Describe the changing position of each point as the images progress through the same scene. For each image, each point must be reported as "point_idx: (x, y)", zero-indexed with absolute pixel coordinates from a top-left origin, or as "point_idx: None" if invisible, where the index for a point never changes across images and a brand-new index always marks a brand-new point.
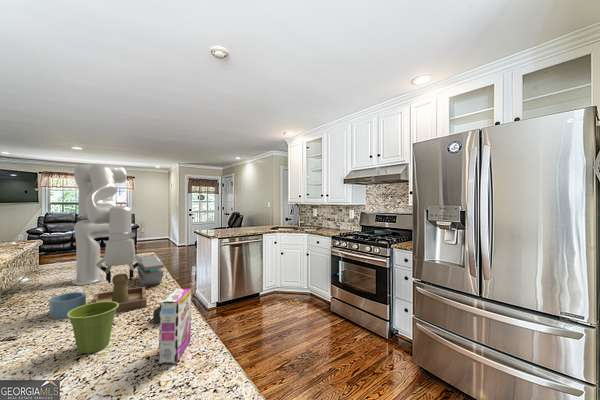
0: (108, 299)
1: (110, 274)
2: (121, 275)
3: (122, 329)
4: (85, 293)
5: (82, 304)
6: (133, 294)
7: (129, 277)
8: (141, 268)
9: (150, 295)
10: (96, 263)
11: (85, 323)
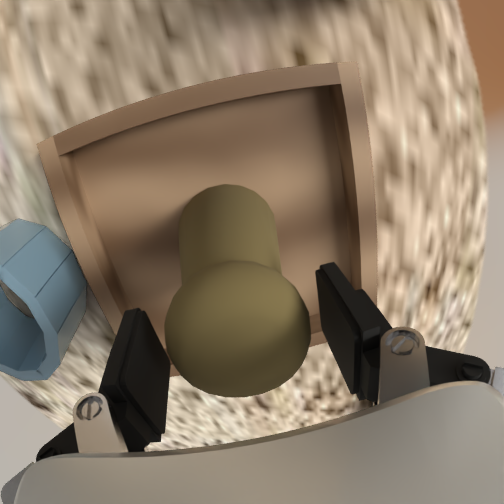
0: (138, 177)
1: (156, 410)
2: (264, 386)
3: (295, 427)
4: (35, 301)
5: (72, 319)
6: (280, 118)
7: (329, 345)
8: None
9: (374, 131)
10: (4, 500)
11: None
